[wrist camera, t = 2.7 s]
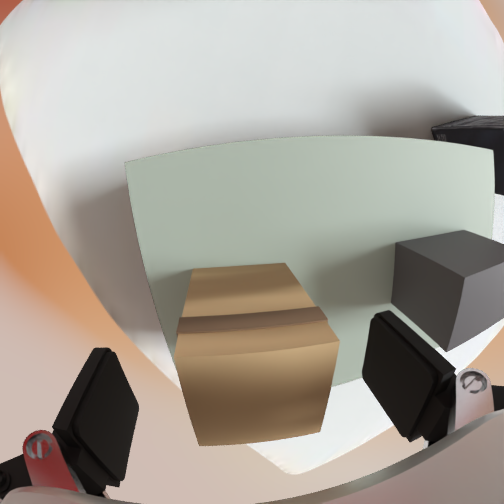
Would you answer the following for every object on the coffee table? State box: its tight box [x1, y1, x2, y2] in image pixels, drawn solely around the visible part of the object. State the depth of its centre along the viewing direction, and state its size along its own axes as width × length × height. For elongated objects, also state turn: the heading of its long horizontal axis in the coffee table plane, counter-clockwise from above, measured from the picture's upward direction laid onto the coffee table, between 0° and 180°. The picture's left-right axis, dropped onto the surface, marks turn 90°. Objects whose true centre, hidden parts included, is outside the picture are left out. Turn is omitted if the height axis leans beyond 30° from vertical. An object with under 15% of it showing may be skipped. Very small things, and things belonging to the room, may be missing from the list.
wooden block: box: [174, 263, 340, 446], centre depth 9 cm, size 4×4×6 cm
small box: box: [432, 116, 504, 195], centre depth 16 cm, size 11×6×10 cm, turn 113°
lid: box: [125, 136, 504, 387], centre depth 11 cm, size 14×22×6 cm, turn 97°
